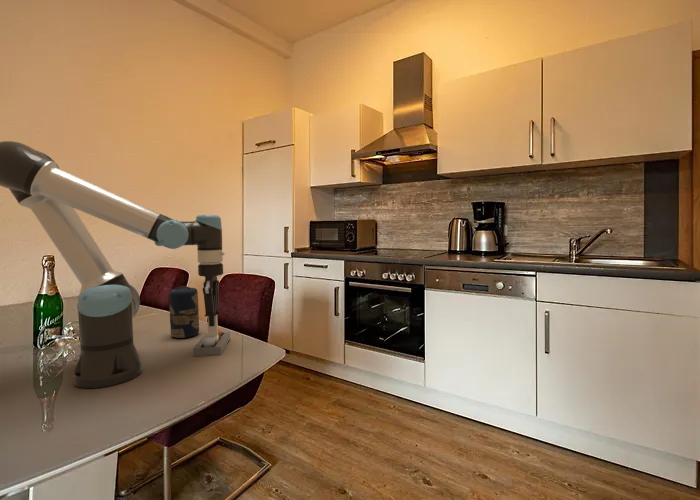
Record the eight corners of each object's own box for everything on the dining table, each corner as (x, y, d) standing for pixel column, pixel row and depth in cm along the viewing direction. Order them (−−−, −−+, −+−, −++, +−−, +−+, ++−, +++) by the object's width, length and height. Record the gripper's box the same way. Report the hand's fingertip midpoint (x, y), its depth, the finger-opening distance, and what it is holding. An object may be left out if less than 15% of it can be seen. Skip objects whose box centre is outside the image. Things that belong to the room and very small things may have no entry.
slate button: (213, 347, 113) (213, 339, 113) (201, 347, 112) (201, 339, 112) (216, 343, 116) (216, 335, 116) (204, 344, 116) (204, 336, 116)
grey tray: (220, 354, 113) (220, 346, 112) (193, 356, 111) (193, 348, 111) (230, 339, 128) (230, 331, 128) (206, 340, 127) (206, 333, 127)
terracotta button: (221, 336, 124) (220, 329, 124) (209, 337, 123) (209, 329, 123) (223, 333, 127) (223, 326, 127) (212, 333, 127) (212, 326, 127)
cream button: (217, 344, 118) (217, 337, 118) (206, 345, 118) (205, 337, 118) (220, 341, 122) (219, 333, 122) (208, 341, 121) (208, 334, 121)
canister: (192, 339, 128) (190, 288, 127) (165, 339, 128) (163, 288, 127) (203, 331, 138) (202, 284, 136) (178, 331, 138) (176, 284, 137)
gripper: (218, 264, 112) (221, 340, 114) (226, 260, 125) (228, 329, 127) (192, 265, 111) (195, 342, 113) (203, 261, 124) (206, 330, 126)
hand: (213, 335), depth 120 cm, fingers closed
